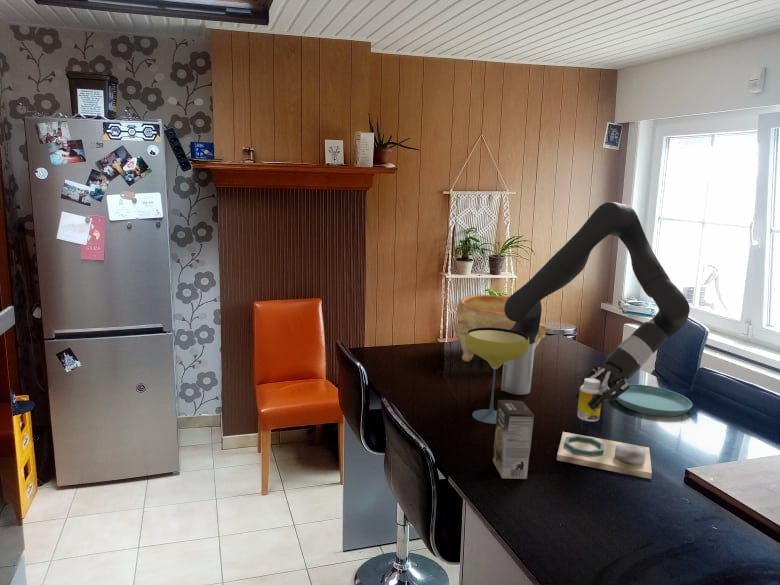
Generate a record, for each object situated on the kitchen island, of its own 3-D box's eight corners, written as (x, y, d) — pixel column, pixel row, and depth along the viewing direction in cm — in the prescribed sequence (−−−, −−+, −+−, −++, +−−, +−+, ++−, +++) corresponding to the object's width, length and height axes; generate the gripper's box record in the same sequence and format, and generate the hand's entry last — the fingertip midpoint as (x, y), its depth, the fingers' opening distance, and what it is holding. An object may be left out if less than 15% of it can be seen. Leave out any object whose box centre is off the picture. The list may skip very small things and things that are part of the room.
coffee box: (491, 461, 151) (497, 399, 148) (516, 461, 151) (522, 399, 149) (501, 479, 142) (507, 413, 139) (528, 479, 143) (534, 413, 140)
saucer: (643, 422, 183) (645, 411, 183) (595, 394, 206) (596, 385, 205) (708, 417, 190) (710, 407, 190) (655, 391, 213) (656, 382, 212)
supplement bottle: (589, 424, 153) (594, 385, 152) (572, 416, 158) (576, 378, 156) (604, 420, 156) (608, 381, 155) (586, 412, 161) (590, 375, 159)
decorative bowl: (433, 347, 253) (436, 293, 249) (508, 345, 264) (513, 293, 260) (467, 373, 221) (472, 311, 217) (551, 369, 232) (557, 310, 228)
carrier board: (556, 460, 153) (558, 445, 153) (562, 436, 168) (563, 423, 168) (651, 478, 146) (653, 463, 145) (648, 452, 161) (650, 438, 160)
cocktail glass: (523, 411, 186) (531, 331, 182) (519, 433, 169) (528, 346, 165) (464, 402, 191) (471, 324, 186) (455, 423, 174) (461, 338, 169)
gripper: (605, 339, 163) (560, 384, 162) (639, 355, 149) (591, 403, 148) (620, 358, 165) (576, 402, 164) (655, 375, 151) (607, 423, 150)
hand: (583, 402), depth 156 cm, fingers closed on supplement bottle, 5 cm apart
